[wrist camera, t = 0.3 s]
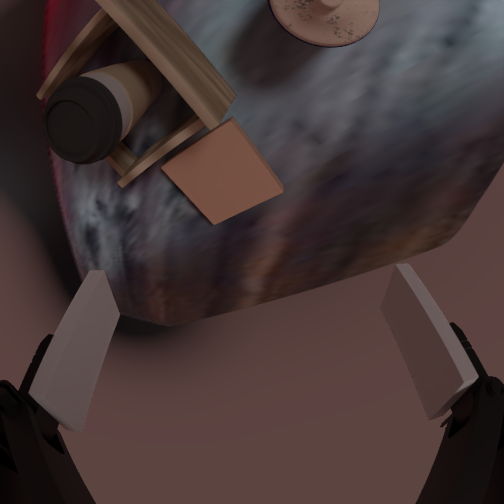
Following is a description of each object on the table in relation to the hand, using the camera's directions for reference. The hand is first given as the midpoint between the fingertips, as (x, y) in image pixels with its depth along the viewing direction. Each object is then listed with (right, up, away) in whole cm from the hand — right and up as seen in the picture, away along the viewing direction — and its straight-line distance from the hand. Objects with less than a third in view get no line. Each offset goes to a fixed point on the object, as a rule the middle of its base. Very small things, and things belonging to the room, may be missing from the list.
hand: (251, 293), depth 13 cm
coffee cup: (-14, +23, +18) cm, 32 cm away
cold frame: (-14, +23, +18) cm, 32 cm away
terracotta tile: (-4, +12, +26) cm, 30 cm away
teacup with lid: (+7, +29, +8) cm, 31 cm away
